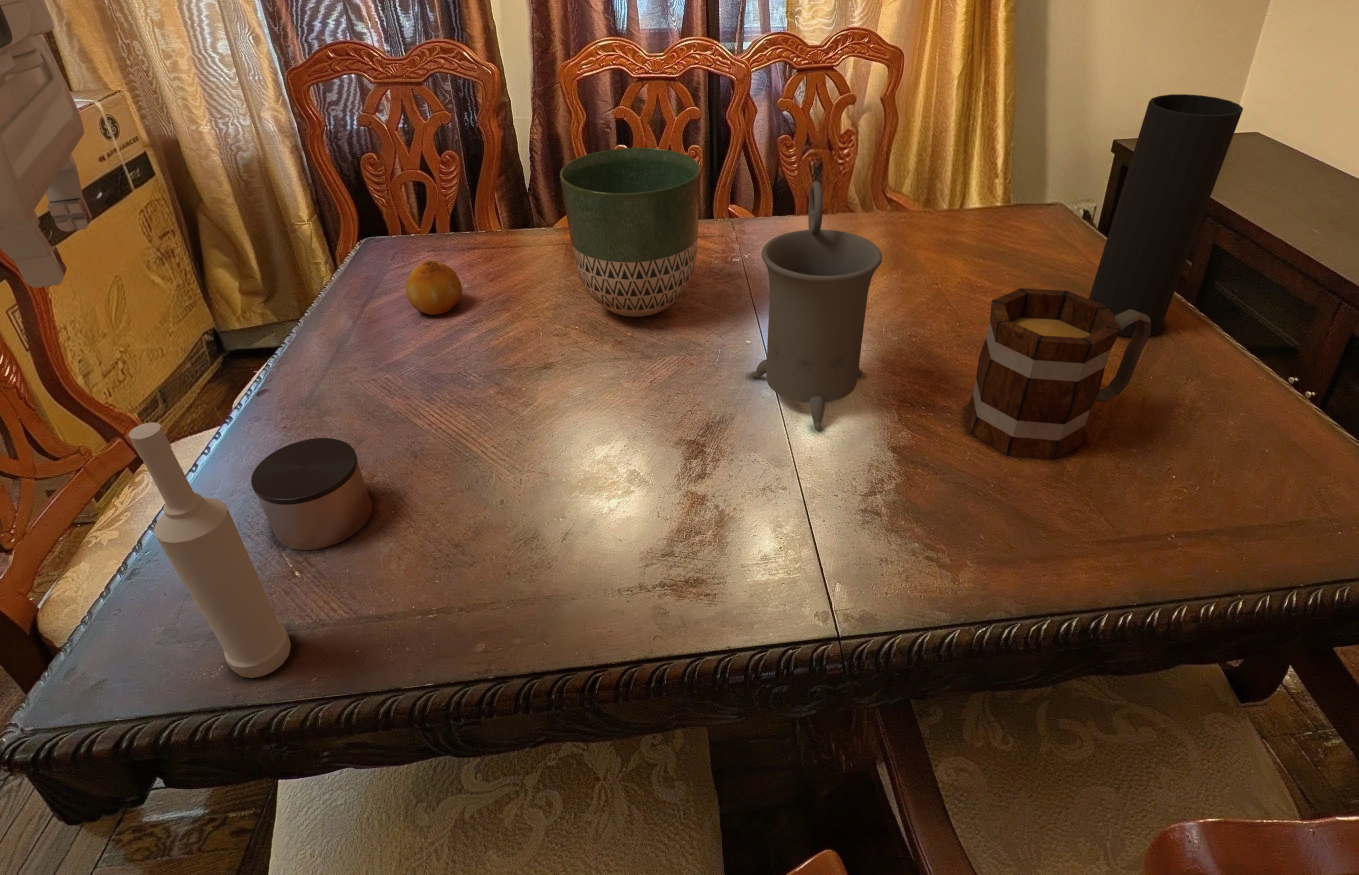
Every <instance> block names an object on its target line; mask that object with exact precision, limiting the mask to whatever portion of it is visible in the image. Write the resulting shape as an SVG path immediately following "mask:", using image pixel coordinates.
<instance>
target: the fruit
mask: <svg viewBox="0 0 1359 875" xmlns="http://www.w3.org/2000/svg"><path fill="white" fill-rule="evenodd" d="M405 286H406V287H405V293H406V297H407V300H408V302H409V304H411V306H412V307H413V308H414V309H416V311H419V312H421V313H423V314H426V315H435V316H437V315H442V314H444V313H447V312H448V311H450V310H451V309H453V308H454V307H455V306H456V305H457V304H458V303H459V301H460V300H461V298H462V295H463V285H462V283H461V280H460V278H459V276H458V274H457V272H456V271H455V270H454V269H452V267H450V266H448V265H447V264H445V263H442V262H438V261H435V260H426V261H423V262H421V264H420V265H418V266H417V267H415V268H413V270H412V271H411V272H410V273H409V275H408V278H407V280H406V285H405Z"/></svg>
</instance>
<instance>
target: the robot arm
mask: <svg viewBox="0 0 1359 875" xmlns="http://www.w3.org/2000/svg"><path fill="white" fill-rule="evenodd" d="M55 27H56V24H55V21H54V19H53V16H52V15H51V12H50V9H49V8H48V5H47V3H46V1H45V0H0V249H1V251H3V253H4V254H5V255H6V256H8V257H9V259H11V260H12V261H13V262H14V264H15V266H16V268H17V269H18V271H19V273H20V275H21V277H22V279H23V281H24V282H25V284H26V285H27V286H29V287H31V288H35V289H39V288H46V287H52V286H58V285H60V284H62V282H63V281H64V277H65V275H66V272H67V266H66V264H65V263H64V261H63V259H62V256H61V254H60V252H59V250H58V248H57V246H56V245H51V244H50V243H49V241H48V240H47V238H46V237H45V235H44V233H43V232H42V230H41V228H40V227H39V226H40V219H39V217H38V216H37V213H36V211H35V210H36V208H37V206H38V205H39V203H40V202H41V201H42V199H43V197H44V196H46V198H47V201H48V204H47V206H46V207H47V208H48V211H49V214H50V215H51V217H52V218H53V220H54V223H55V226H56V228H57V229H59V230H60V231H62V232H66V233H68V232H73V231H82V230H86V229H87V228H88V227H89V225H90V223H91V221H92V218H93V215H92V213H91V212H90V209H89V206H88V205H87V202H86V200H85V198H84V194H83V189H82V185H81V180H80V176H79V171H78V166H77V163H76V161H75V158H74V157H73V154H72V153H73V151H74V150H75V148H76V147H77V145H78V144H79V143H80V141H81V139H82V138H83V136H84V135H85V128H84V124H83V120H82V116H81V114H80V111H79V109H78V106H77V104H76V102H75V100H74V97H73V95H72V93H71V91H70V89H69V86H68V85H67V82H66V80H65V78H64V76H63V74H62V72H61V70H60V68H59V66H58V64H57V61H56V59H55V57H54V55H53V53H52V51H51V49H50V46H49V45H48V44H47V41H46V40H45V38H44V36H43V35H44V34H47V33H49V32H52V31H53V30H54V29H55Z"/></svg>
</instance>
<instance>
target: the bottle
mask: <svg viewBox="0 0 1359 875" xmlns="http://www.w3.org/2000/svg"><path fill="white" fill-rule="evenodd" d="M128 438H129V440H130V442H131V443H132V445H133V447H134V449H135V451H136V453H137V454H138V456H139V458H140V459H141V460H142V462H143V463H144V465H145V468H146V469H147V471H148V473H149V475H150V477H151V479H152V480H153V482H154V485H155V486H156V488H157V490H158V492H159V494H160V495H161V497H162V499H163V501H164V503H165V504H164V505H163V508H162V510H163V513H162V514H161V516H160V517H159V518H158V520H157V521H156V524H155V526H154V527H153V532H154V536H155V538H156V540H157V541H158V543H159V546H160V547H161V548H162V550H163V551H164V553H165V555H166V557H167V558H168V560H169V561H170V563H171V565H172V567H173V568H174V570H175V571H176V573H177V575H178V577H179V578H180V580H181V581H182V583H183V584H184V586H185V588H186V590H187V591H188V593H189V595H190V596H191V598H192V599H193V601H194V603H195V605H196V606H197V608H198V609H199V611H200V613H201V615H202V616H203V618H204V619H205V621H206V623H207V624H208V626H209V627H210V630H211V631H212V633H213V634H214V636H215V638H216V639H217V642H219V644H220V646H221V648H222V649H223V655H224V658H225V661H226V663H227V665H228V666H229V668H230V669H231V670H232V671H233V672H235V673H236V674H238V675H239V676H240V677H242V678H247V679H248V678H249V679H254V678H260V677H264V676H266V675H268V674H270V673H271V674H272V673H273V672H275V671H276V670H277V669H279V667H281V666H282V665H283V664H284V663H285V661H286V660H287V659H288V657H289V656H290V652H291V646H292V644H291V639H290V637H289V634H288V631H287V629H286V627H285V626H284V625H283V624H281V623H280V622H279V621H278V620H279V619H278V617H277V616H276V614H275V611H274V609H273V606H272V604H271V602H270V600H269V598H268V596H267V594H266V591H265V589H264V587H263V584H262V582H261V580H260V577H259V575H258V573H257V570H256V569H255V567H254V564H253V561H252V560H251V558H250V556H249V553H248V551H247V549H246V546H245V544H244V542H243V540H242V538H241V534H240V532H239V531H238V529H237V526H236V524H235V522H234V519H233V517H232V515H231V513H230V511H229V509H228V506H227V503H226V502H224V501H222V500H220V499H219V498H214V497H204V496H202V494H200V493H199V492H195V491H194V490H193V488H192V485H191V484H190V482H189V480H188V478H187V477H186V475H185V472H184V471H183V469H182V466H181V465H180V463H179V460H178V459H177V456H176V455H175V453H174V451H173V449H172V445H171V443H170V440H169V439H168V437H167V435H166V433H165V431H164V429H163V427H162V425H161V424H160V423H159V422H154V421H153V422H152V421H150V422H145V423H142V424H139V425H136V426H135V427H133V428H132V429H131V430H130V431H129V433H128Z"/></svg>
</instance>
